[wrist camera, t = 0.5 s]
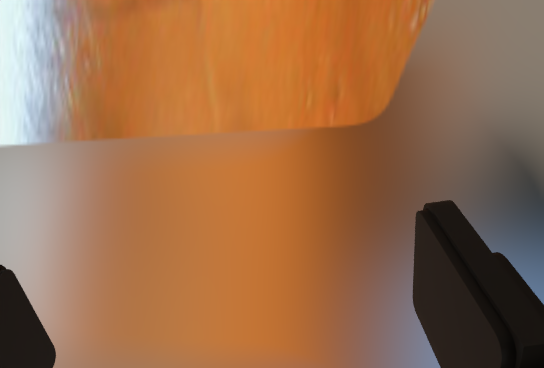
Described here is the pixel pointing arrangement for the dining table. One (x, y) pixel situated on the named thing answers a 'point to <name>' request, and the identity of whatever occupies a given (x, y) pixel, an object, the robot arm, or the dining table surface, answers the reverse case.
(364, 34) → the dining table surface
